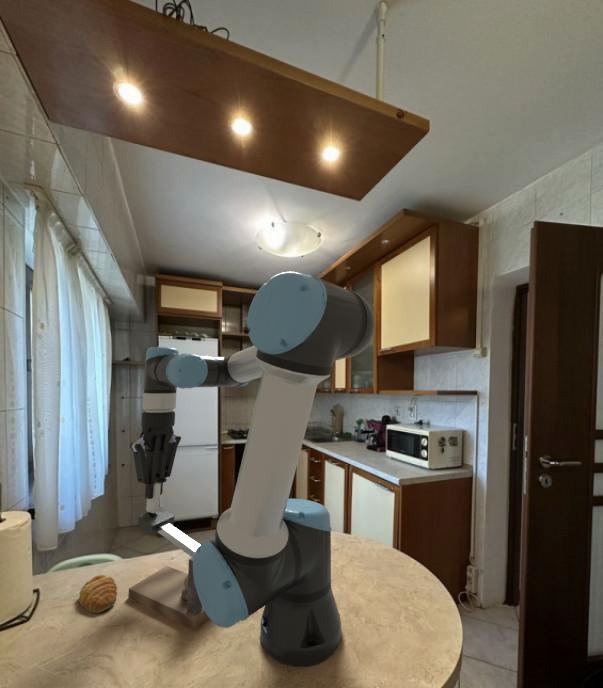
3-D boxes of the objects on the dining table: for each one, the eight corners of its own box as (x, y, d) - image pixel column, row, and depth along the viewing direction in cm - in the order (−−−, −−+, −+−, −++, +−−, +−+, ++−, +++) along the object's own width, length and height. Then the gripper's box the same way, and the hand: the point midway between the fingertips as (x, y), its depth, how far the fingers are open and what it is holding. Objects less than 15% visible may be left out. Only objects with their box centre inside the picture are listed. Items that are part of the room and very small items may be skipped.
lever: (220, 560, 70) (223, 548, 70) (199, 575, 65) (202, 562, 65) (158, 517, 80) (161, 507, 80) (136, 527, 75) (139, 515, 75)
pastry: (124, 604, 69) (125, 585, 70) (87, 622, 65) (89, 601, 65) (109, 586, 76) (110, 568, 76) (75, 600, 71) (76, 581, 71)
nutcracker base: (229, 599, 71) (231, 543, 72) (195, 630, 62) (197, 565, 63) (166, 574, 80) (168, 525, 81) (128, 598, 71) (131, 542, 72)
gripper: (170, 407, 87) (164, 499, 85) (124, 411, 76) (116, 517, 73) (190, 409, 84) (185, 505, 81) (145, 413, 72) (137, 525, 70)
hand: (152, 511), depth 77 cm, fingers closed
